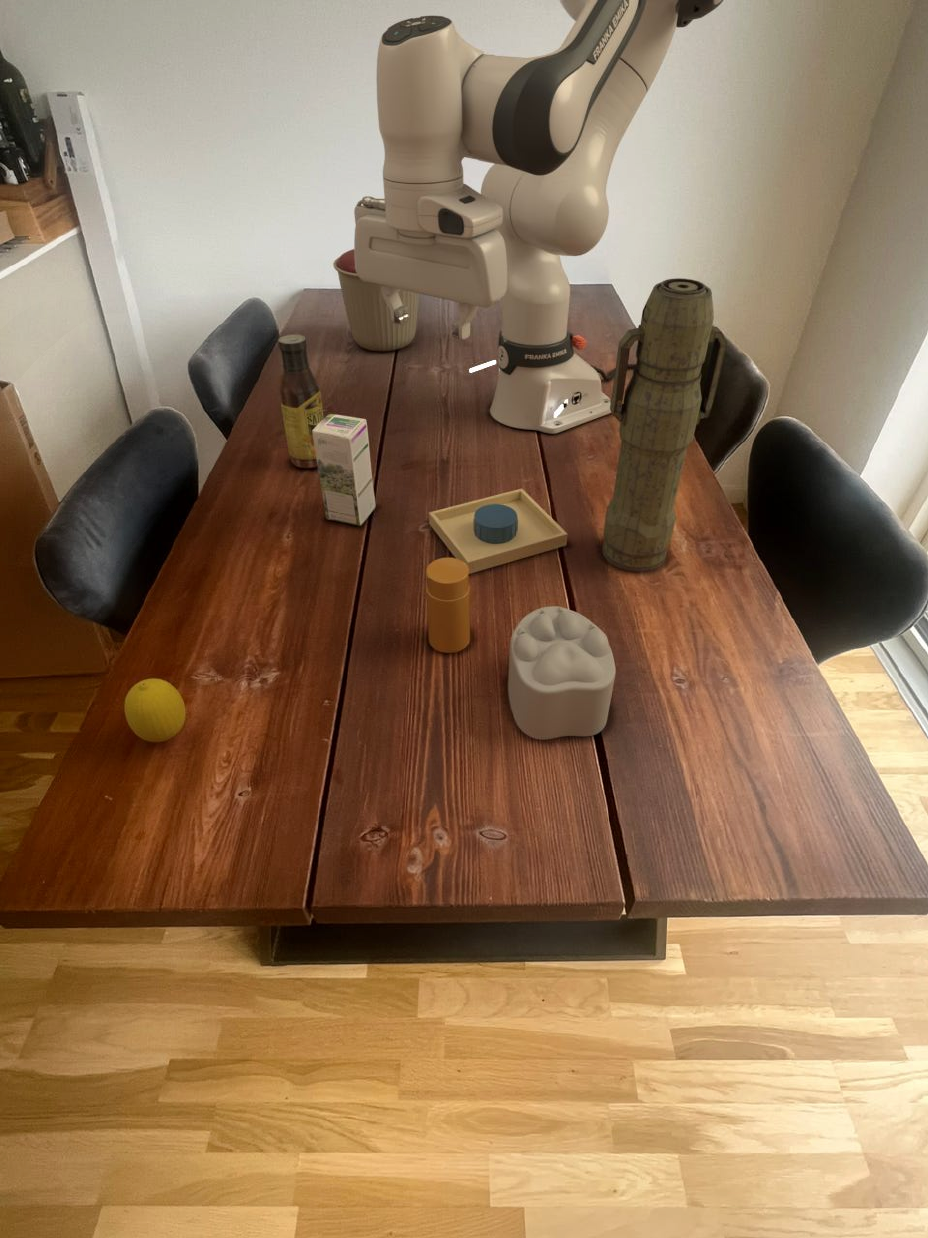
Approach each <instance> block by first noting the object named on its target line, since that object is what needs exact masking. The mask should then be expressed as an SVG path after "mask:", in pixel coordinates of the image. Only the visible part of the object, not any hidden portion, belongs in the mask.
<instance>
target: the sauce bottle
mask: <svg viewBox="0 0 928 1238" xmlns="http://www.w3.org/2000/svg"><path fill="white" fill-rule="evenodd" d="M277 343H278V349H279V350H280V354H281V359H282V368H283V372H282V374H281V375H280V380H279V383H278V390H279V396H280V406H281V412H282V418H283V424H284V425H283V426H284V432H285V437H286V443H287V449H288V453H289V454H288V455H289V456H290V461H291V463H292V465H293V466H294V467H296V468H299V469H307V470H309V469H310V470H311V469H314V468H315V469H316V468H318V464H317V458H316V452H315V446H314V440H313V433H312V432H313V431H312V430H313V429H314V428H315V427H316V426H317V425H318V424H319V423H320V422H321V421H322V420H323V419H324V418H325V417H324V409H323V402H322V401H323V400H322V394H321V389H320V388H321V387H320V386H319V384H318V382H317V380H316V378H315V375H314V374H313V372H312V370H311V368H310V363H309V361H308V352H307V348H308V345H307V339H306V337H305V336H304V335H301V334H287V335H283V336H281V337H279V338H278V339H277Z"/></svg>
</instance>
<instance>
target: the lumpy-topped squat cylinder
mask: <svg viewBox="0 0 928 1238" xmlns="http://www.w3.org/2000/svg"><path fill="white" fill-rule="evenodd" d="M508 658H509V659H508V660H509V662H508V679H507V692H508V693H507V694H508V700H509V706H510V709H511V712H512V715H513V719H514V721H515V723H516V726H517V727H518V728H519V730H520V731H521V732H523V733H524V734H525V735H527V737H530V738H532V739H535V740H542V741H543V740H552V739H556V738H562V737H592V736H595V735H597V734H600V733H601V732H602V731H603V730H604V728H605V727H606V725H607V721H608V717H609V712H610V706H611V700H612V695H613V690H614V686H615V685H614V684H615V678H616V674H617V673H616V671H617V669H616V663H615V659H614V654H613V651H612V648H611V646H610V644H609V639H608V636H607V635H606V634H605V632H604V631H603V630H601V629H600V628H599V627H598V626H597V625H596V624H595V623H594V622H593V621H591V620H590V619H588V617H585V616H584V615H582V614H581V613H579V612H576V611H574V610H571V609H569V608H566V607H563V606H558V605H557V606H556V605H552V606H551V605H550V606H543V607H540V608H536V609H535V610H533V611H531V612H530V613H528V614H526V615H525V616H524V617H523V618H522V619H521V620H520V621H519V622H518V624H517V625H516V627H515V629H514V630H513V632H512V634H511V637H510V641H509V657H508Z"/></svg>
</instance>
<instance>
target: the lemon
mask: <svg viewBox="0 0 928 1238" xmlns="http://www.w3.org/2000/svg"><path fill="white" fill-rule="evenodd" d="M123 709H124V715H125V719H126V721H127V724H128V726H129V728H130V730H131V731H132V732H133V733H134V734H135V736H137V737H139V738H141V739H142V740H143V741H147V742H150V743H161V742H166V741H168V740H170V739H172V738H174V737H175V736H176V735H178V733H179V732H180V731H181V730H182V728H183V726H184V725H185V722H186V721H185V720H186V716H187V713H186V712H187V711H186V706H185V702H184V699H183V697H182V695H181V694H180V693H179V691H178V689H177V688H176V687H175V686H174V685H172V683H170V682H168V681H167V680H164V679H161V678H147V679H142V680H140V681H139V682H137V683H135V684H134V685H133V686H132V687H131V688H130V689H129V691H128V692H127V694H126V696H125V698H124V707H123Z"/></svg>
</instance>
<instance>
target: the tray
mask: <svg viewBox="0 0 928 1238" xmlns="http://www.w3.org/2000/svg"><path fill="white" fill-rule="evenodd" d="M490 504H501V505H505V506H508V507H510V508H512V509H514V510H515V511H516V513H517V519H518V527H517V533H516V536H515V537H514V538H513V539H512V540H510V541H508V542H506V543H501V544H491V543H486V542H483V541H481V540H479V539H478V538H477V537H476V535H475V533H474V514H475V512H476V511H477V510H478V509H479V508H480V507H482V506H485V505H490ZM428 524H429V525H430V527H431V528H432V530H433V531H434V532H435V533H436V535H437V536H438V537H439V538H440V540H441V541H442V543H443V544H444V545H445V547H447V549H448V550H449V552H451V554H452V555H453V558H456V559H459V560H461V561H463V562H464V563H466V564H467V566H468V568H469V575H470V574H474V573H476V572H481V571H484V570H487V569H490V568H491V569H492V568H494V567H497V566H501V565H505V564H508V563H511V562H515V561H518V560H522V559H524V558H525V559H526V558H529V557H532V556H535V555H538V554H542V553H545V552H549V551H553V550H555V549H559V548H563V547H565V546H567V543H568V533H567V531H565V530H564V529H563V528H562V527H561V525H560V524H558V522H557V521H555V520H554V519H553V518H552V517H551V516H550V515H549V514H548V513H547V512H546V510H545V509H543V508H542V507H541V506H540V505H539V504H538V502H536V501H535V500H534V499H533V497H531V496H530V495H529V494H528V493H527V492H526V491H525V490H524V489H523V488H519V489H514V490H511V491H507V492H503V493H498V494H496V495H491V496H487V497H484V498H480V499H475V500H471V501H467V502H464V503H461V504H457V505H452V506H449V507H445V508H441V509H436V510H433V511H429V512H428Z"/></svg>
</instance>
